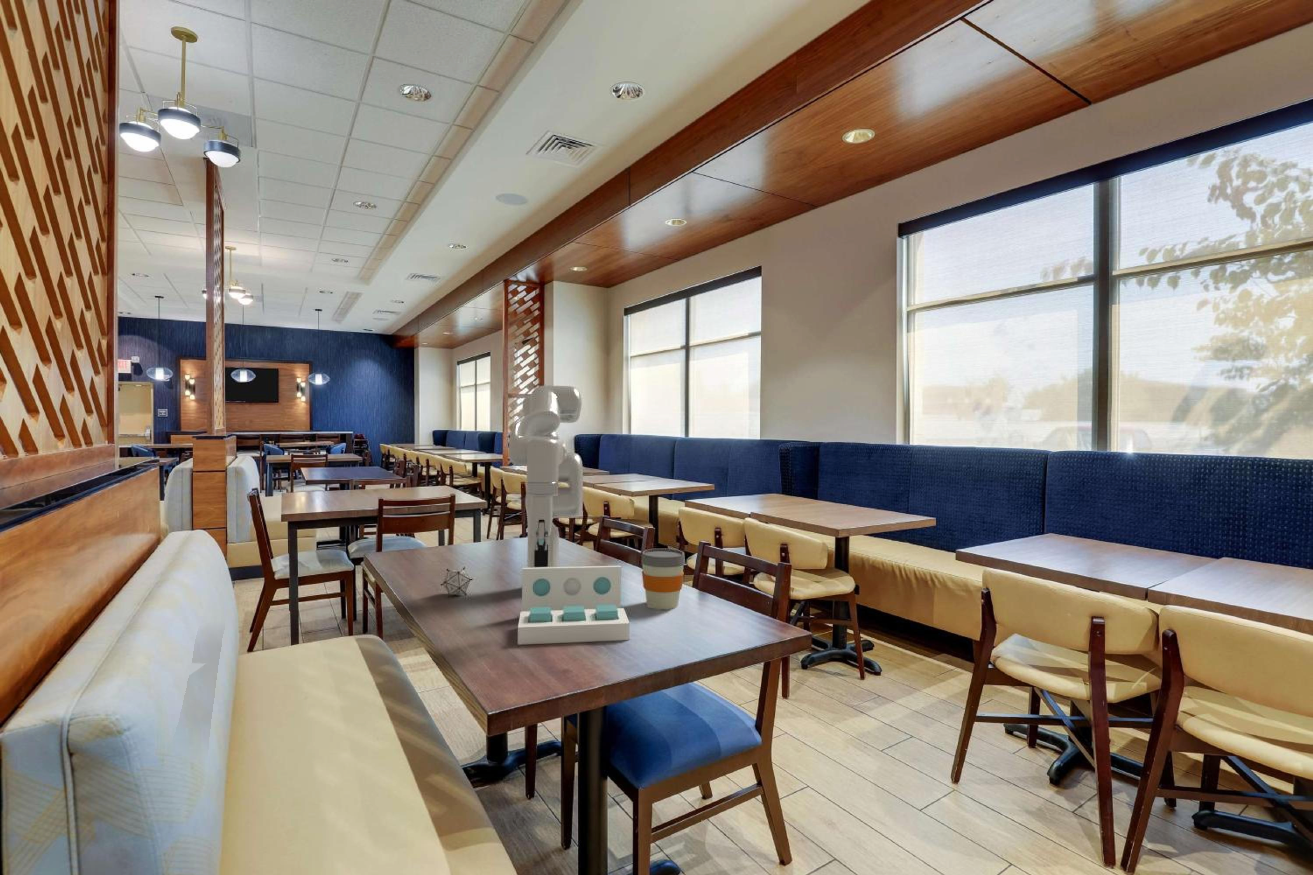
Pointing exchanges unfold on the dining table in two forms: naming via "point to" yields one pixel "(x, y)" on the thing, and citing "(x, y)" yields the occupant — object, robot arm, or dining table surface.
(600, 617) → the button
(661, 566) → the reusable coffee cup
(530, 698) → the dining table surface
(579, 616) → the button
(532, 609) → the button
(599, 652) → the dining table surface
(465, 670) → the dining table surface
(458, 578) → the grey geometric polyhedron ornament
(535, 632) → the button board
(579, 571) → the pattern sign
